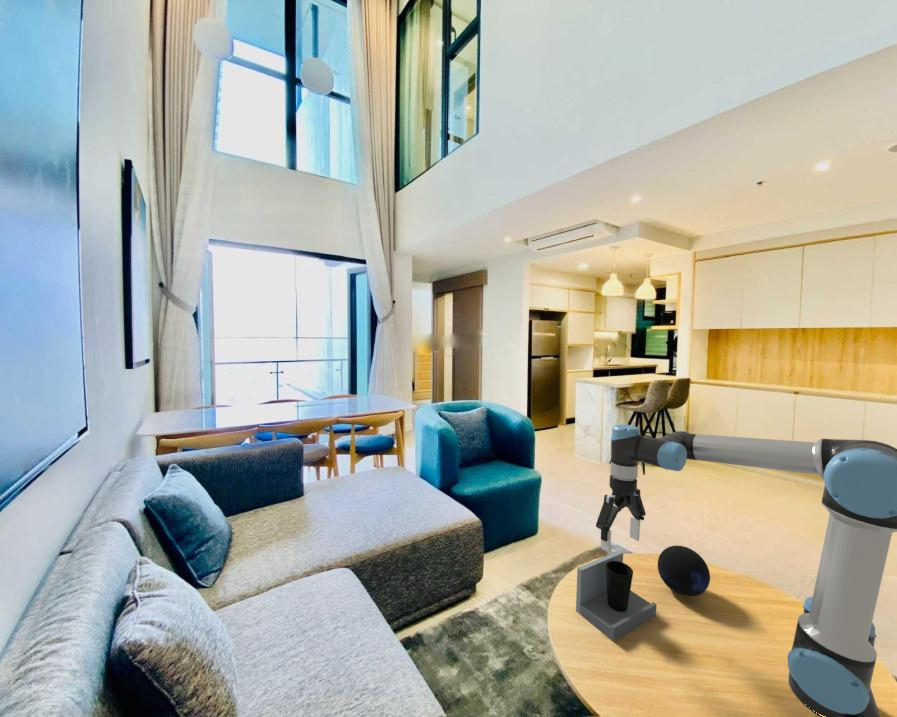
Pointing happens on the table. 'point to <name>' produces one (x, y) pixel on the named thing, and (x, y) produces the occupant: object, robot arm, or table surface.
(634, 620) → the shelf
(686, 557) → the decorative sphere
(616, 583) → the cup
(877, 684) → the table surface
